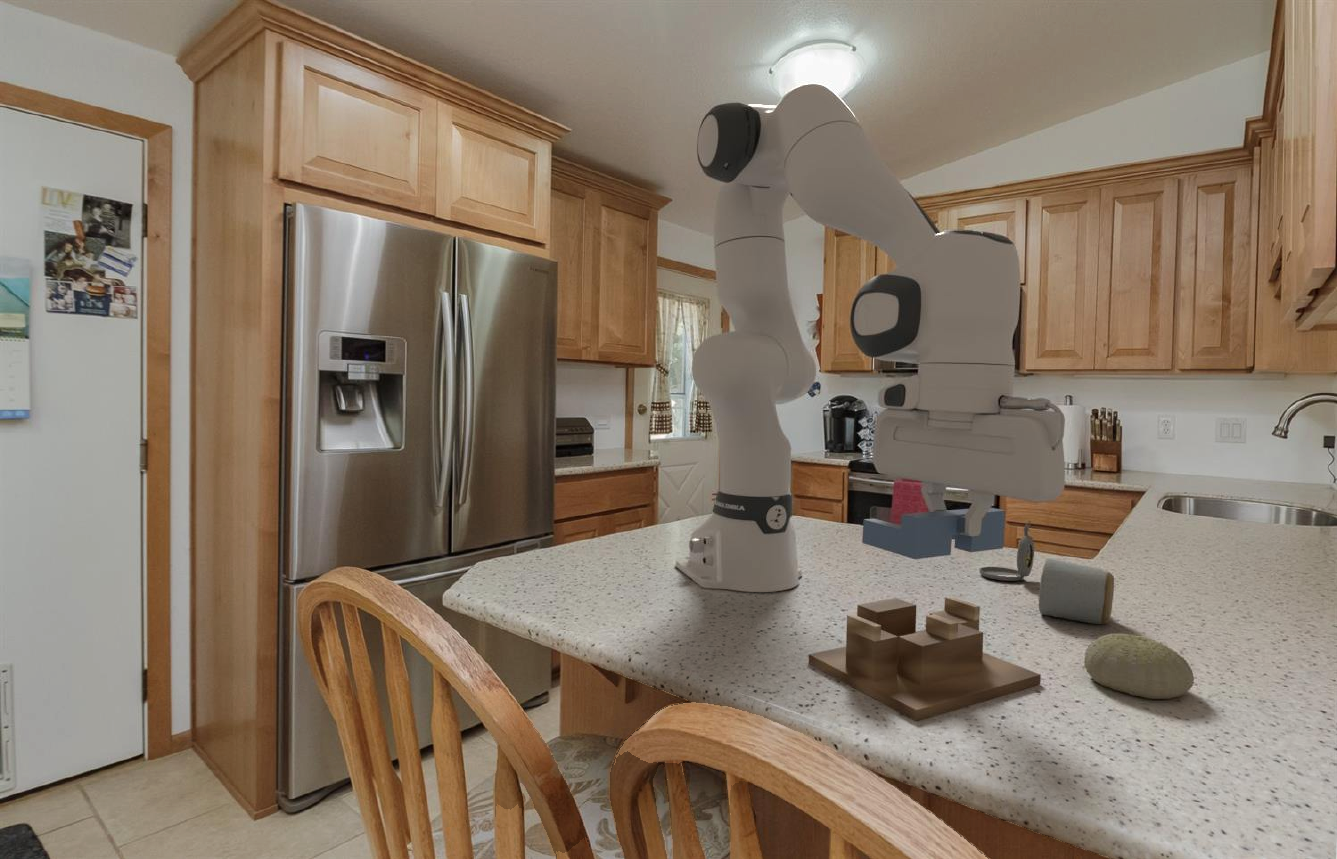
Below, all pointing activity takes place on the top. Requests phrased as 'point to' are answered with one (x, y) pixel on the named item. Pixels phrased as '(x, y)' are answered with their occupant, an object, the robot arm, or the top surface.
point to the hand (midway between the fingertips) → (953, 530)
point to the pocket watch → (1023, 561)
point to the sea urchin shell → (1138, 666)
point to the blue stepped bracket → (934, 533)
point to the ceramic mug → (1076, 592)
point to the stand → (921, 659)
